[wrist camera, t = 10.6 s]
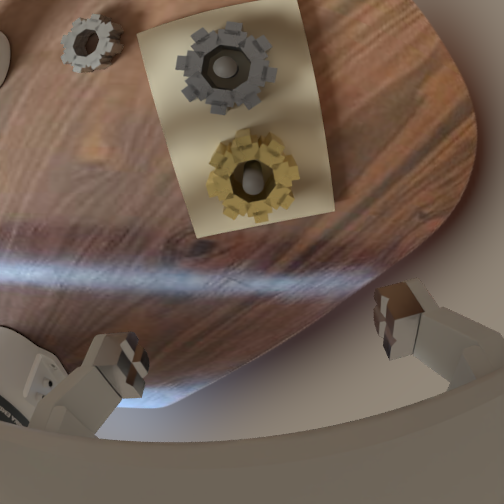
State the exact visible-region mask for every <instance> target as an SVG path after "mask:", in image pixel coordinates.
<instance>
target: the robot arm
mask: <svg viewBox="0 0 504 504" xmlns="http://www.w3.org/2000/svg"><path fill="white" fill-rule="evenodd" d="M374 299H375V301H376V303H377V305H376V307H375V308H374V322H375V327H376V330H377V333H378V335H379V336H380V337H382V338H383V339H384V341H383V347H384V349H385V351H386V354H387V356H388V358H389V360H393V359H397V358H401V357H405V356H408V355H412V354H413V356H415V357H416V358H417V359H419V360H420V361H421V362H423V363H424V364H425V365H427V366H428V367H430V368H431V369H432V370H434V371H435V372H437V373H438V374H439V375H441V376H442V377H443V378H445V379H446V380H447V381H449V382H450V384H449V387H448V389H447V391H446V392H444V393H442V394H439V395H437V396H434V397H431V398H428V399H425V400H422V401H420V402H417V403H414V404H411V405H408V406H405V407H401V408H399V409H395V410H392V411H388V412H385V413H381V414H378V415H374V416H370V417H366V418H363V419H359V420H355V421H350V422H346V423H342V424H338V425H333V426H328V427H323V428H318V429H313V430H307V431H302V432H296V433H289V434H282V435H275V436H268V437H259V438H250V439H239V440H227V441H209V442H136V441H120V440H119V441H118V440H108V439H99V438H98V437H97V436H95V435H94V434H95V433H96V432H97V430H98V429H99V428H100V427H101V426H102V424H103V423H104V422H105V420H106V419H107V418H108V417H109V415H110V414H111V413H112V412H113V410H114V409H115V408H116V407H117V405H118V404H119V403H120V402H121V400H122V398H142V395H143V390H144V387H145V381H144V379H143V378H144V377H145V376H146V375H147V373H148V370H149V358H148V355H147V352H146V351H145V349H144V348H143V347H142V346H140V345H138V340H139V339H138V337H137V336H136V334H135V333H134V332H120V333H108V334H98V335H96V336H95V337H94V339H93V341H92V343H91V345H90V347H89V350H88V352H87V354H86V356H85V358H84V361H83V363H82V365H81V367H77V368H76V369H75V370H74V371H73V372H71V373H70V374H69V375H68V374H67V372H66V371H65V369H64V368H63V366H62V365H61V363H60V361H59V360H58V358H57V357H56V356H55V355H54V354H52V353H50V352H48V351H46V350H44V349H42V348H39V347H38V346H36V345H35V344H33V343H32V342H31V341H29V340H28V339H26V338H25V337H23V336H22V335H20V334H18V333H17V332H15V331H13V330H10V329H8V328H4V327H0V504H504V338H503V337H502V335H501V334H500V333H499V332H497V331H494V330H492V329H490V328H488V327H486V326H484V325H482V324H480V323H477V322H475V321H473V320H471V319H469V318H467V317H464V316H463V315H460V314H458V313H456V312H454V311H452V310H450V309H447V308H445V307H441V308H440V307H439V306H438V304H437V303H436V302H435V300H434V299H433V297H432V296H431V294H430V293H429V292H428V290H427V289H426V288H425V286H424V285H423V283H422V282H421V281H420V280H419V279H418V278H414V279H410V280H407V281H404V282H400V283H396V284H392V285H388V286H385V287H380V288H376V289H375V292H374Z"/></svg>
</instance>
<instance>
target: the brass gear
mask: <svg viewBox="0 0 504 504" xmlns="http://www.w3.org/2000/svg"><path fill="white" fill-rule="evenodd" d="M284 149H285V146H284V144H283V142H282V140H281V138H279V137H278V136H276V135H274V134H273V133H271V132H269V133H268V135H267V136H266V138H265V137H263V136H262V135H261V136H260V137H259V139H258V138H257V134H256V135H251V132H250V128H247V129H242V130H238V131H236V135H235V139H233V142H232V143H231V142H229V144H228V145H227V146H226V145H224V144H222V143H221V142H220V143H219V145H218V147H217V148H216V150H215V151H214V153H213V155H212V157H211V160H210V162H209V164H210V165H211V166H213V167H215V169H214V171H211V172H210V175H209V177H208V180H207V182H206V188H207V191H208V195H209V198H210V197H215V196H218V199H219V201H222V200H223V202H222V205H224V209H223V214H224V215H226V216H228V217H229V218H231V219H233V220H235V219H236V218H237V216H238V215H239V214H240V215H241V216H243V217H244V216H245V214H246V213H247V215H248V217H253V216H254V220H255V224H257V223H262V222H267V221H269V218H268V213H273V211H272V208H274V209H275V210H277V209H278V208H279V206H281V207H283V208H284V209H286V210H287V209H288V208H289V206H290V205H291V204H292V202H293V201H294V200H295V198H294V195H293V193H292V190H291V187H290V186H292V181H293V180H298V179H300V177H299V171H298V165H297V164H296V162H295V160H294V158H293V156H292V154H291V155H286V156H285V154H284V152H283V150H284ZM254 159H258V160H260V161H261V162H263V163H264V164H266V165H268V166H269V167H271V168H272V171H273V172H272V174H271V175H270V177H269V178H268V179H267V181H266V182H265V184H264V188H263V190H262V191H261V192H260V193H259V194H256V195H250V194H248V193H246V192H245V191H244V189H243V184H242V183H240V182H238V181H237V180H235V177H234V173H233V171H234V169H235V168H236V166H237V165H238V163H240V162H245V161H250V160H254Z"/></svg>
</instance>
